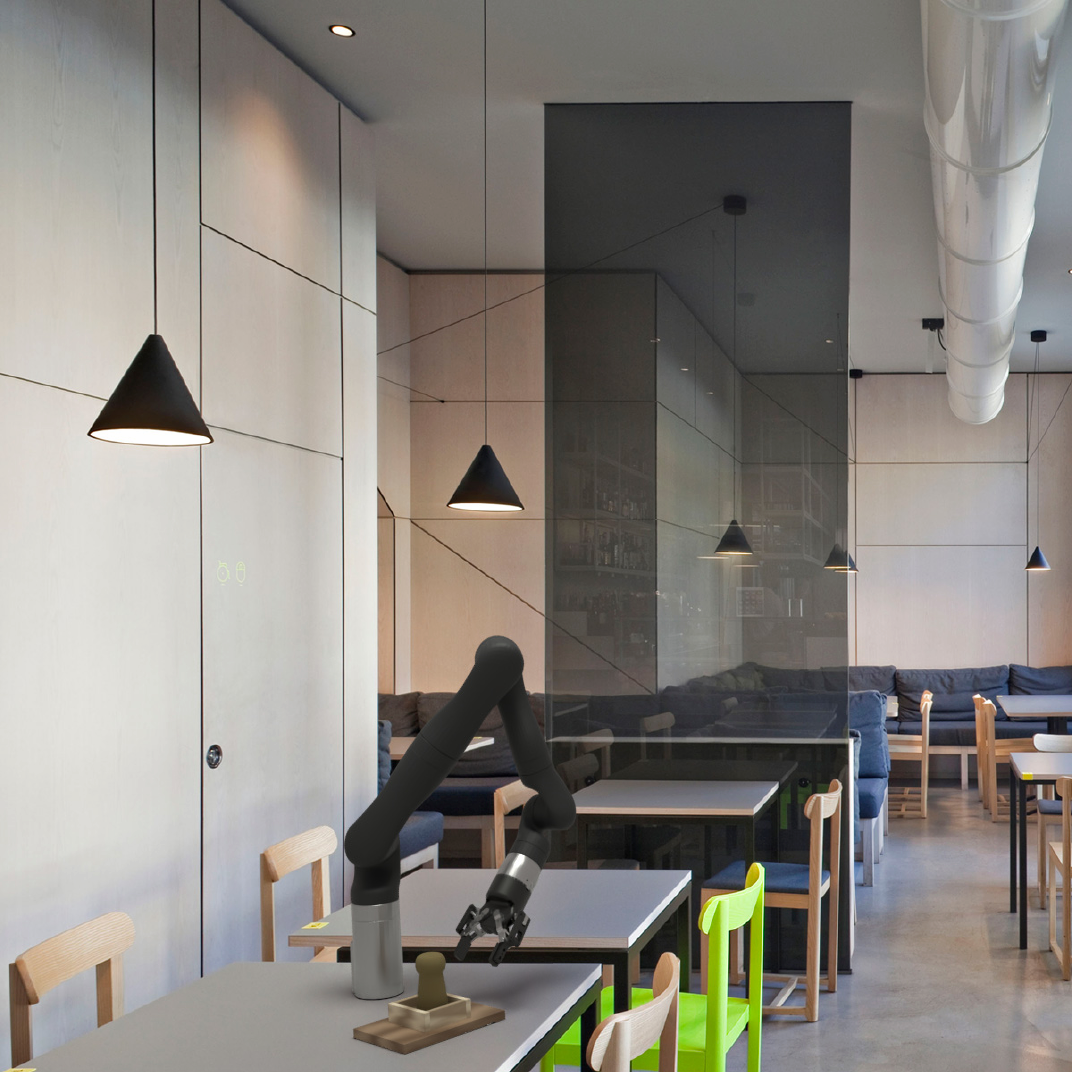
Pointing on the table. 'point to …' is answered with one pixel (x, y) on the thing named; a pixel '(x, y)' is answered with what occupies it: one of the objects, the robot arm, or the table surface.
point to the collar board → (426, 1023)
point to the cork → (431, 981)
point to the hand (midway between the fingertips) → (474, 961)
